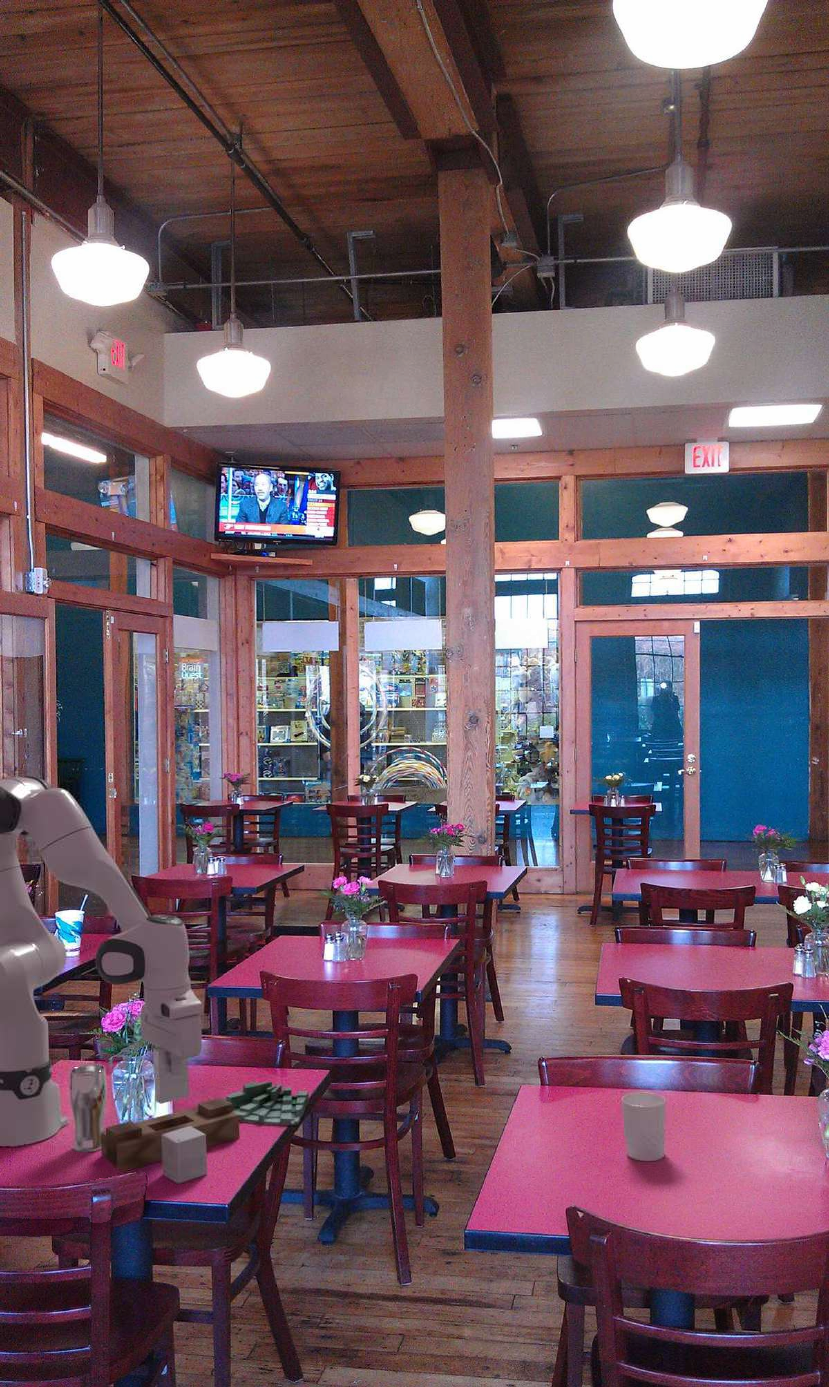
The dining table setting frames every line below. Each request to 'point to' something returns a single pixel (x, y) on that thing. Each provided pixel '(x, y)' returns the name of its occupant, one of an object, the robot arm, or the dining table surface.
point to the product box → (184, 1154)
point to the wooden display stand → (144, 1139)
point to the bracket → (169, 1078)
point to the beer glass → (88, 1105)
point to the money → (268, 1104)
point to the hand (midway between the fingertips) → (171, 1071)
